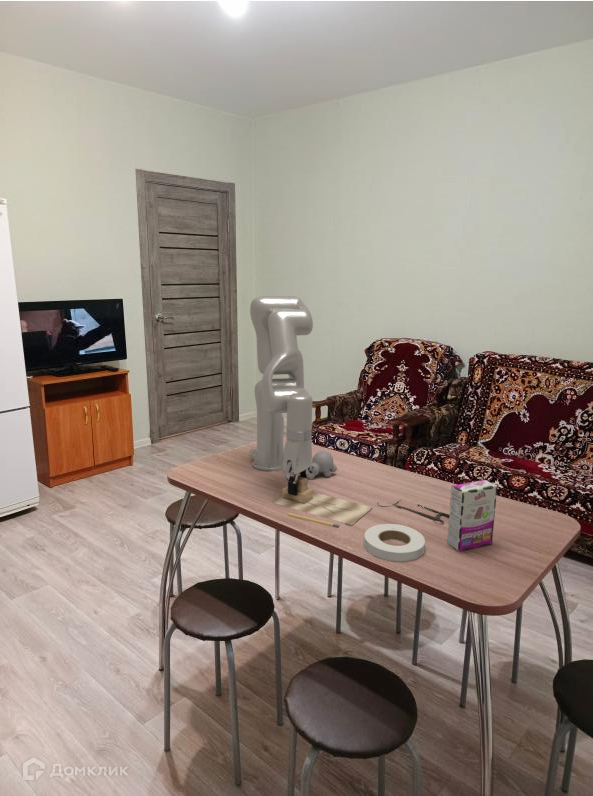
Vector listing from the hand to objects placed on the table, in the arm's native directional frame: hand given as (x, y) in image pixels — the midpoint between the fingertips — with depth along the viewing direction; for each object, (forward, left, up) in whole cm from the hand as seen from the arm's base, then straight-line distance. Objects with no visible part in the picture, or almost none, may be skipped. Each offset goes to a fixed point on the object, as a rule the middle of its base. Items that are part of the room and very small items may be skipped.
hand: (297, 490), depth 167 cm
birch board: (+8, 0, -3) cm, 8 cm away
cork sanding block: (0, 0, -2) cm, 2 cm away
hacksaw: (+34, +12, -3) cm, 36 cm away
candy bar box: (+52, +1, -3) cm, 52 cm away
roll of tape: (+36, -11, -3) cm, 38 cm away
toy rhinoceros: (-4, +21, -3) cm, 21 cm away
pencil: (+11, -11, -3) cm, 16 cm away
